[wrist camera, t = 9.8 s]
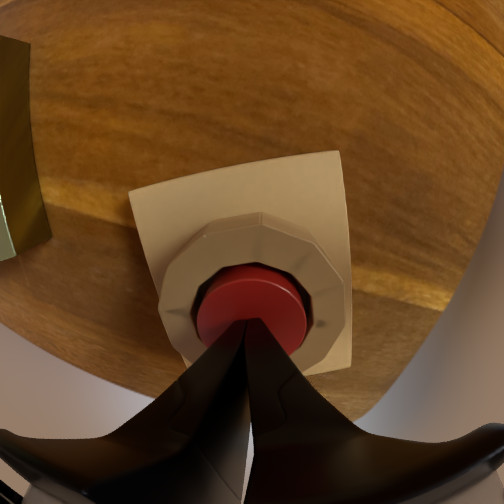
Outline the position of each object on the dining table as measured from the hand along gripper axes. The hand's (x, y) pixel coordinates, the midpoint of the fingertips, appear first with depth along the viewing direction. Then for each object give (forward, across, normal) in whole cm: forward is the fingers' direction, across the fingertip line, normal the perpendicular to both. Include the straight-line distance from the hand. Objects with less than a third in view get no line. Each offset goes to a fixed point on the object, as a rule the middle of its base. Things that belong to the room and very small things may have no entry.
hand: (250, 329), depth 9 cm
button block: (+4, 0, 0) cm, 4 cm away
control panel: (+4, +15, -10) cm, 18 cm away
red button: (+2, 0, 0) cm, 2 cm away
